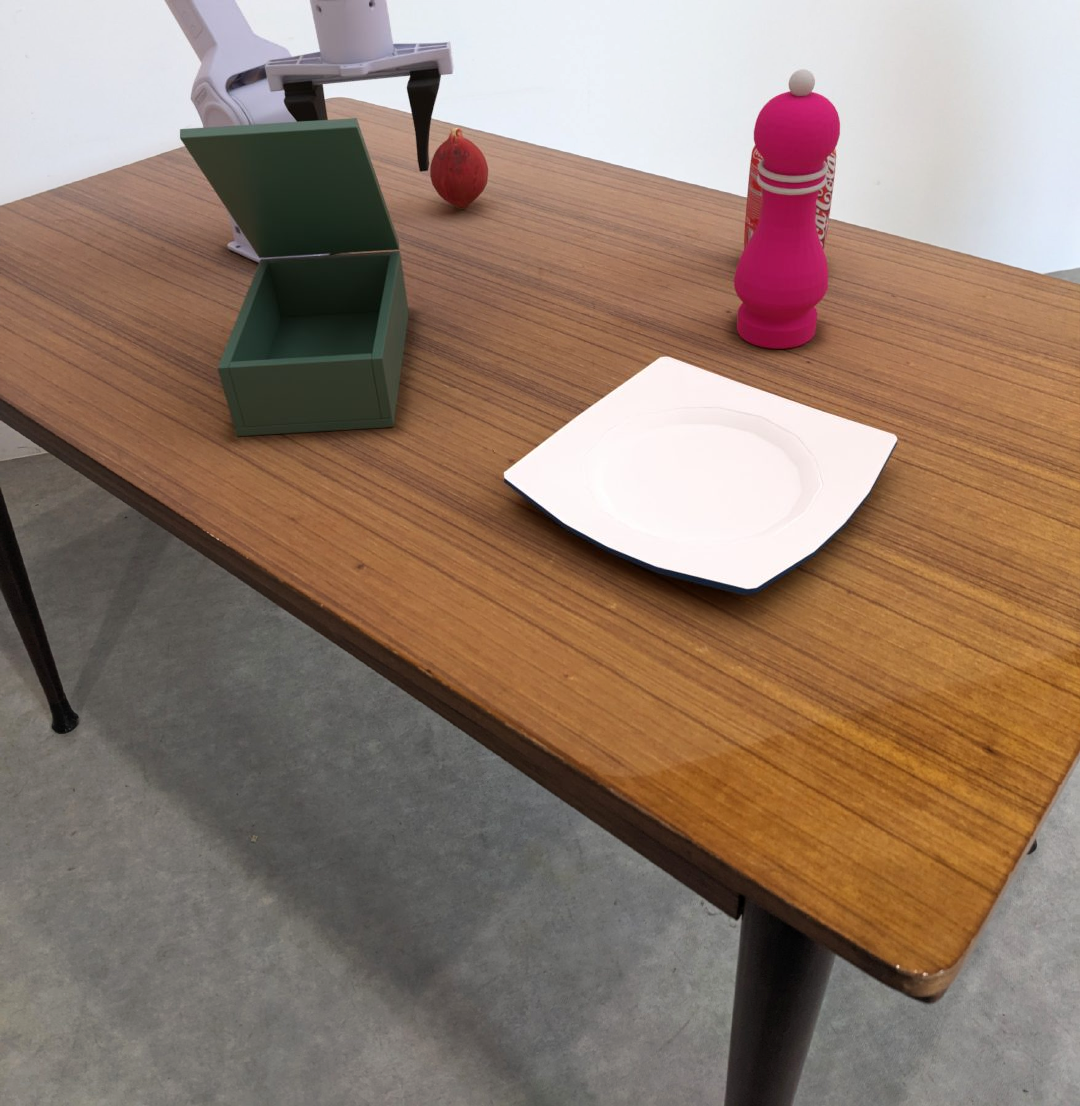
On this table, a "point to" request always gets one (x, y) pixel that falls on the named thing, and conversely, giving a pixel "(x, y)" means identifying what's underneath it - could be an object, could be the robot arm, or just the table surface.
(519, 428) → the table surface
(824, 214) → the soda can
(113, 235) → the table surface
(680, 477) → the plate
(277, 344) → the chest
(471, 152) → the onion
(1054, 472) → the table surface
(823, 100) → the pepper mill
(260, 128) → the lid
